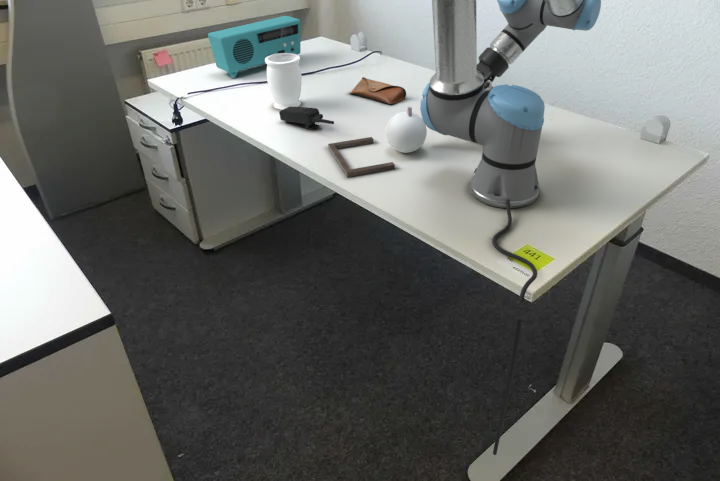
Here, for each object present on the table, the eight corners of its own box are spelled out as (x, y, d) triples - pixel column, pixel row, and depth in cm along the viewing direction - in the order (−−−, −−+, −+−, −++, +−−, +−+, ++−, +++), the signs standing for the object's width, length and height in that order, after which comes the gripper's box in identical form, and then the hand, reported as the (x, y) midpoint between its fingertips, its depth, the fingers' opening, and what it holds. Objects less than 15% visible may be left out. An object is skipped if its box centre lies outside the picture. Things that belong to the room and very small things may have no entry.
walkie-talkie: (294, 108, 165) (346, 116, 154) (287, 127, 164) (338, 136, 153) (281, 98, 159) (334, 106, 148) (274, 118, 159) (326, 127, 148)
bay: (394, 169, 136) (394, 164, 135) (347, 177, 133) (347, 173, 132) (371, 140, 150) (371, 136, 149) (328, 147, 147) (328, 143, 146)
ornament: (432, 152, 143) (435, 109, 136) (400, 162, 139) (401, 118, 132) (410, 138, 150) (412, 96, 143) (379, 147, 146) (379, 104, 139)
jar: (280, 114, 166) (275, 65, 158) (264, 104, 173) (258, 57, 165) (310, 106, 171) (306, 58, 163) (293, 97, 178) (288, 50, 170)
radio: (229, 82, 192) (222, 38, 183) (214, 75, 198) (206, 32, 189) (305, 60, 210) (302, 19, 201) (289, 54, 216) (285, 15, 208)
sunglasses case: (346, 93, 178) (352, 72, 177) (358, 98, 184) (364, 78, 183) (391, 104, 169) (398, 83, 168) (402, 109, 175) (408, 89, 174)
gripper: (520, 73, 135) (454, 145, 140) (494, 58, 145) (433, 125, 150) (504, 53, 130) (436, 129, 136) (478, 39, 140) (416, 110, 146)
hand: (435, 127), depth 143 cm, fingers closed
